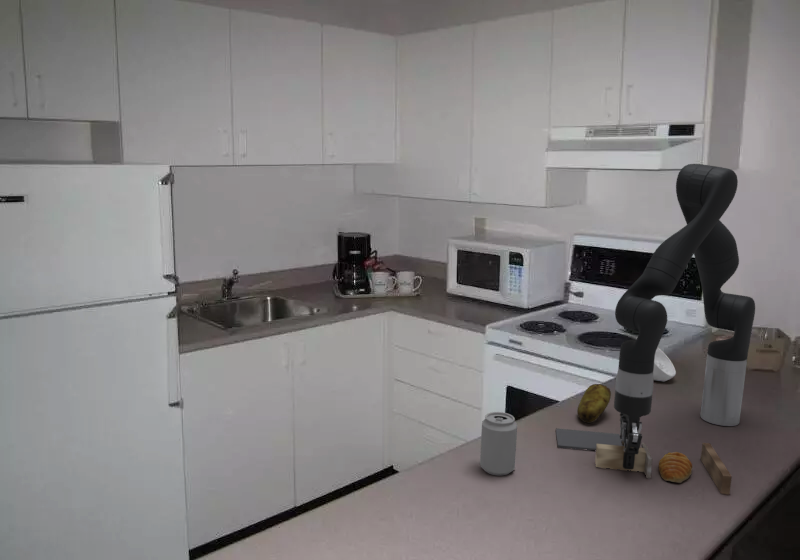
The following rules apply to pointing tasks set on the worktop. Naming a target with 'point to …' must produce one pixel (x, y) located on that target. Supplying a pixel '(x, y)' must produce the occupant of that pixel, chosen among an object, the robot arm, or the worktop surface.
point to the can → (498, 443)
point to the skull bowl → (662, 367)
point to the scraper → (614, 458)
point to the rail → (716, 468)
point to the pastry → (675, 467)
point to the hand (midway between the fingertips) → (626, 465)
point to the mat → (585, 439)
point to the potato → (593, 402)
